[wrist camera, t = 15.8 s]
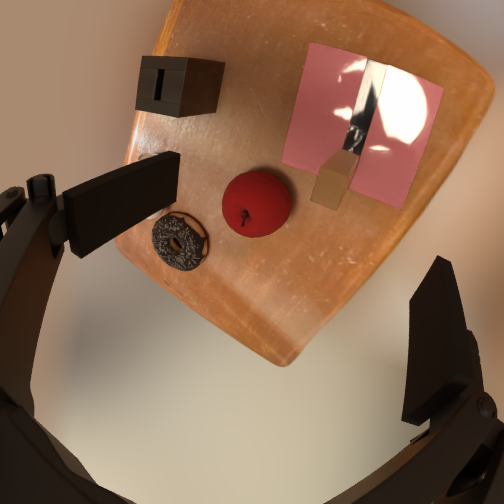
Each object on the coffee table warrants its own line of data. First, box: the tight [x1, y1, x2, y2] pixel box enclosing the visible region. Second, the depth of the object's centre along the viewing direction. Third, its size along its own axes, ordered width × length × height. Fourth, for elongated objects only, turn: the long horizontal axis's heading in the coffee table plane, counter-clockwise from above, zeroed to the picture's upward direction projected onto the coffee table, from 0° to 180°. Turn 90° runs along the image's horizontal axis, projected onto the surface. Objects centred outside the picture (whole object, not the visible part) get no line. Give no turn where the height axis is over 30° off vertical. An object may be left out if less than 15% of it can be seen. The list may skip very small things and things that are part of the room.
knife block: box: [135, 56, 225, 118], centre depth 36 cm, size 8×8×9 cm
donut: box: [152, 212, 207, 271], centre depth 53 cm, size 11×12×4 cm
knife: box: [310, 139, 361, 211], centre depth 27 cm, size 3×2×19 cm, turn 167°
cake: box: [280, 42, 444, 210], centre depth 29 cm, size 16×16×9 cm
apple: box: [222, 171, 291, 238], centre depth 39 cm, size 9×9×10 cm
